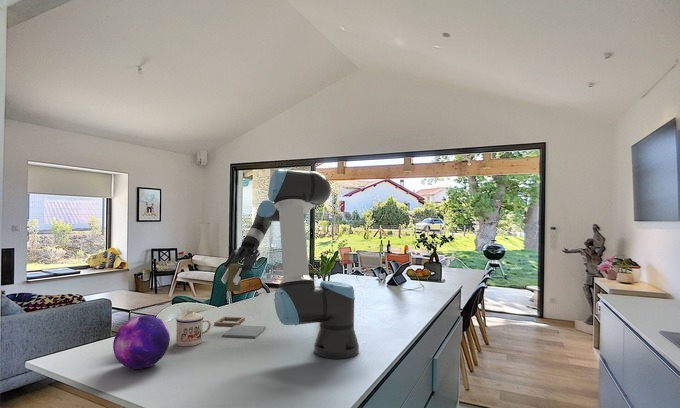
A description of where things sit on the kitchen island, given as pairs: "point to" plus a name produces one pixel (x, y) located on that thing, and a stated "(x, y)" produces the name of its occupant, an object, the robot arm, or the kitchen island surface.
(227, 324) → the walnut collar
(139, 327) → the decorative orb
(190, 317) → the teacup with lid
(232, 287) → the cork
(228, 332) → the slate coaster
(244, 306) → the kitchen island surface
